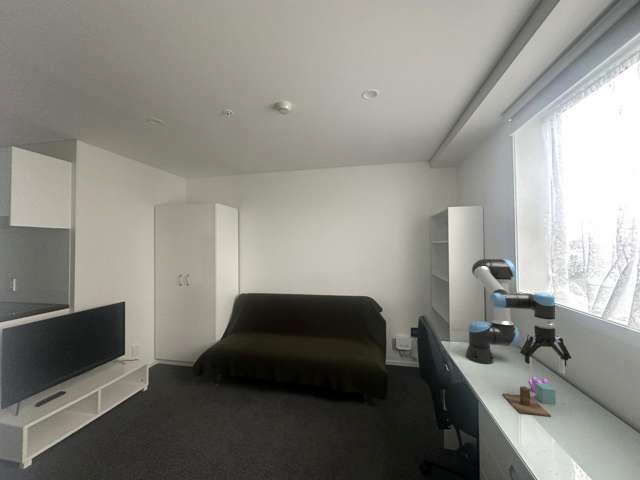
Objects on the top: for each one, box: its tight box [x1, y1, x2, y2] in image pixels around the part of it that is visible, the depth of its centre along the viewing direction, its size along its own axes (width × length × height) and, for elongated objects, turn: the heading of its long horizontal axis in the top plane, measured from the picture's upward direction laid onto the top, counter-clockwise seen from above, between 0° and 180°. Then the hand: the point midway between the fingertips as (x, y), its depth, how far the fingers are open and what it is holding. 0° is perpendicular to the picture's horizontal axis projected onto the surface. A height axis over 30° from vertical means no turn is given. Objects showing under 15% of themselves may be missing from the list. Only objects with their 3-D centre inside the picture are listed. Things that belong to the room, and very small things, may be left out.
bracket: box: [528, 375, 549, 393], centre depth 133 cm, size 13×6×7 cm, turn 151°
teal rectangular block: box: [534, 382, 557, 405], centre depth 122 cm, size 5×5×7 cm
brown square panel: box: [502, 386, 552, 418], centre depth 118 cm, size 14×12×8 cm
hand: (545, 371), depth 122 cm, fingers open, 13 cm apart
